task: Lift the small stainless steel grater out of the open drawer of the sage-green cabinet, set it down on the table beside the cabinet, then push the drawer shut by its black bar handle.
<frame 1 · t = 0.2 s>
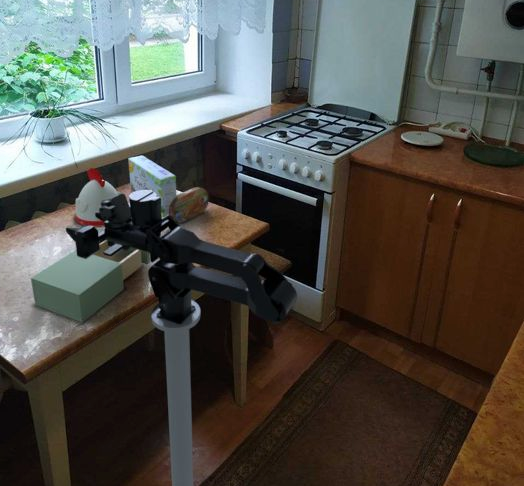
hand: (81, 221, 114), 16 cm above the table, tool horizontal, fingers open, 9 cm apart
cabinet: (80, 296, 114), on the table
drawer: (119, 255, 124), point 4 cm above the table, slide at 10.0 cm, touching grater
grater: (116, 263, 123), point 2 cm above the table, touching drawer
snack box: (153, 211, 156), on the table, touching tin
kitchen timer: (100, 216, 151), on the table
tin: (189, 216, 153), on the table, touching snack box
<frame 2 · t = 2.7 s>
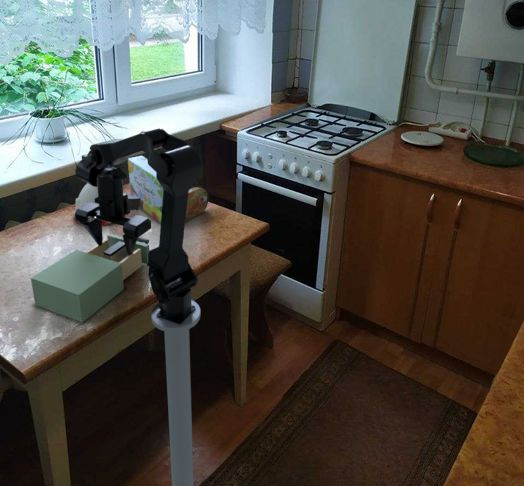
hand: (115, 249, 122), 6 cm above the table, tool pointing down
drawer: (119, 255, 124), point 4 cm above the table, slide at 10.0 cm, touching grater, gripper
everything else where it was.
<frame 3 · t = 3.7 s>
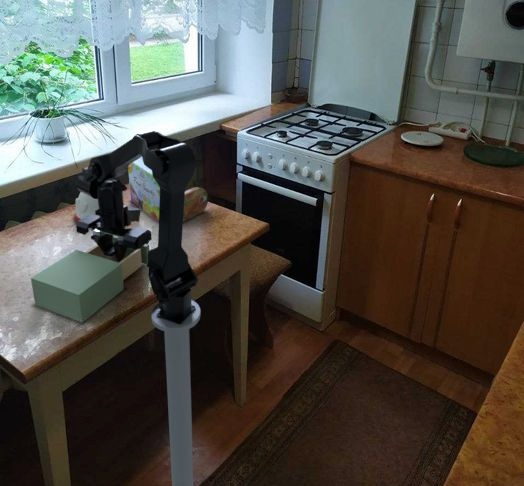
hand: (116, 261, 123), 3 cm above the table, tool pointing down, fingers closed on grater, 3 cm apart
drawer: (119, 255, 124), point 4 cm above the table, slide at 10.0 cm, touching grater
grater: (116, 263, 123), point 2 cm above the table, touching drawer, gripper
tin: (188, 216, 153), on the table, touching snack box
everything else where it was.
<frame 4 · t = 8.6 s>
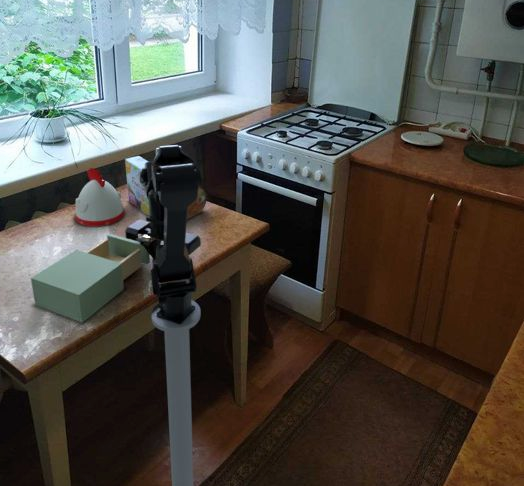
hand: (164, 266, 125), 1 cm above the table, tool pointing down, fingers closed on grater, 2 cm apart
drawer: (119, 255, 124), point 4 cm above the table, slide at 10.0 cm, touching gripper
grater: (164, 268, 125), on the table, touching gripper
tin: (187, 216, 153), on the table, touching snack box
everything else where it was.
when the fingers open (1 cm above the table, at t = 10.9 s): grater stays where it is, on the table.
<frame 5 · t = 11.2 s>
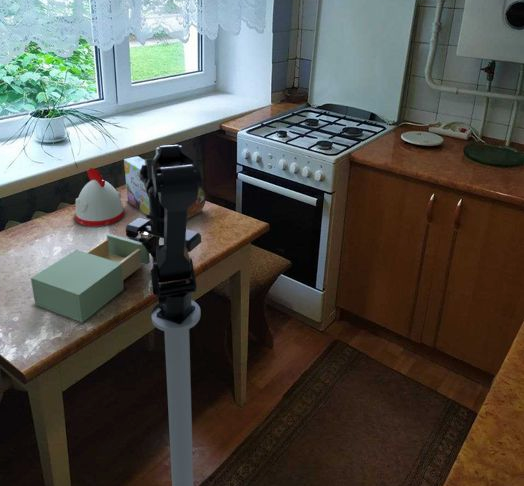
hand: (164, 264, 124), 2 cm above the table, tool pointing down, fingers open, 4 cm apart
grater: (164, 269, 125), on the table
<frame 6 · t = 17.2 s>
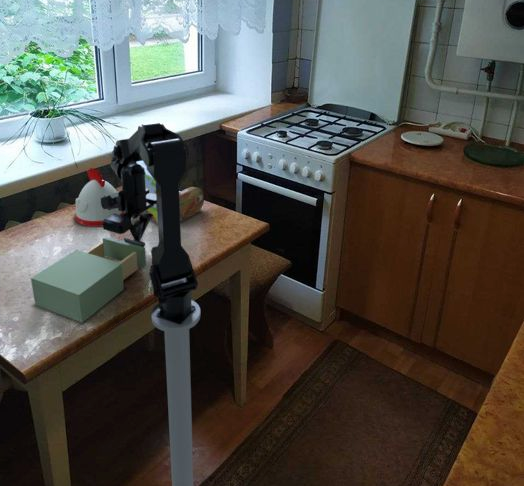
hand: (137, 241, 130), 4 cm above the table, tool pointing down, fingers closed
drawer: (114, 258, 123), point 4 cm above the table, slide at 8.3 cm, touching gripper
tin: (185, 216, 153), on the table, touching snack box
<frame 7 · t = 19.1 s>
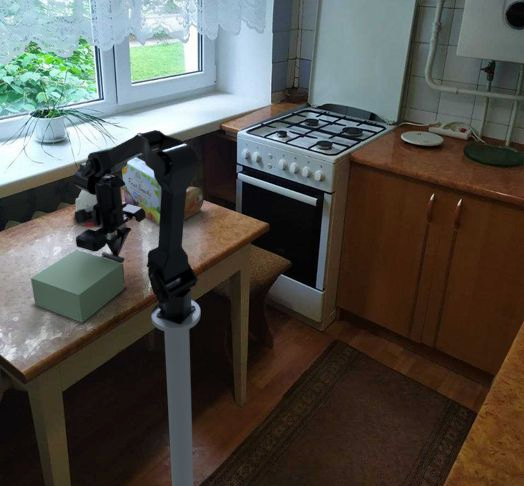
hand: (116, 256, 123), 4 cm above the table, tool pointing down, fingers closed
drawer: (91, 275, 116), point 4 cm above the table, slide at 0.0 cm, touching cabinet, gripper
tin: (185, 216, 153), on the table, touching snack box
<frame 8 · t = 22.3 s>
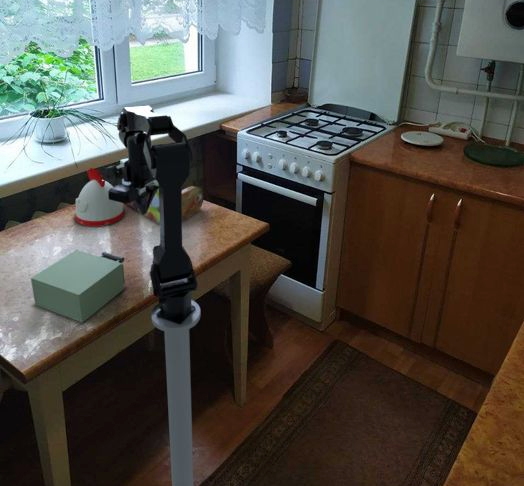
hand: (143, 213, 127), 12 cm above the table, tool pointing down, fingers closed
drawer: (91, 275, 116), point 4 cm above the table, slide at 0.0 cm
at the end: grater inside the target area (0.1 cm from its centre), on the table; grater tilted 0°; drawer slide at 0.0 cm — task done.
